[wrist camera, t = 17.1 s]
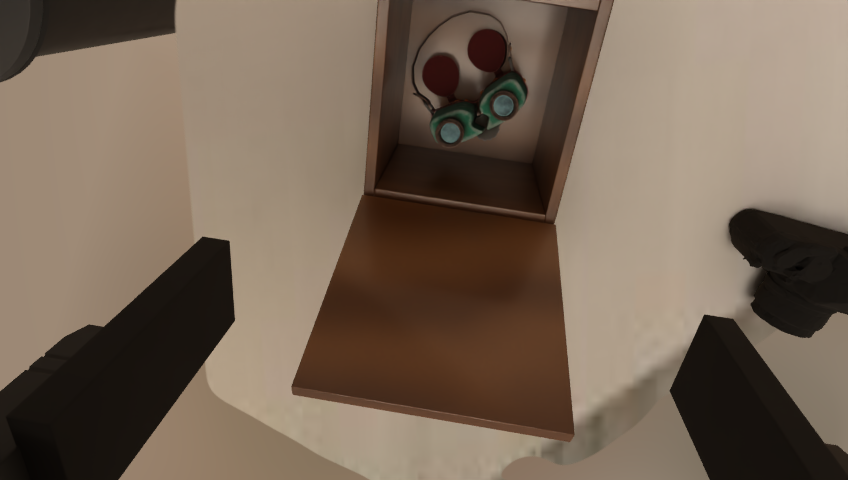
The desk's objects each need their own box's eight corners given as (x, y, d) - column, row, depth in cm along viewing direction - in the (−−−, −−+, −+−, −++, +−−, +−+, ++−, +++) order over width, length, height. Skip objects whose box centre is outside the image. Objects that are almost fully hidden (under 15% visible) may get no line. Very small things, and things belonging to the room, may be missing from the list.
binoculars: (485, -14, 34) (546, 123, 36) (490, -3, 43) (538, 104, 46) (371, 53, 36) (436, 176, 39) (400, 50, 46) (450, 148, 49)
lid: (291, 386, 26) (292, 395, 27) (575, 435, 26) (570, 442, 26) (362, 194, 38) (362, 202, 39) (555, 224, 38) (553, 232, 38)
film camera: (690, 279, 53) (726, 332, 45) (740, 197, 49) (790, 239, 41) (826, 319, 54) (886, 377, 46) (888, 240, 49) (966, 290, 41)
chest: (407, -30, 43) (380, -34, 32) (579, -6, 43) (614, -2, 31) (390, 147, 50) (363, 196, 39) (538, 170, 50) (553, 226, 38)
